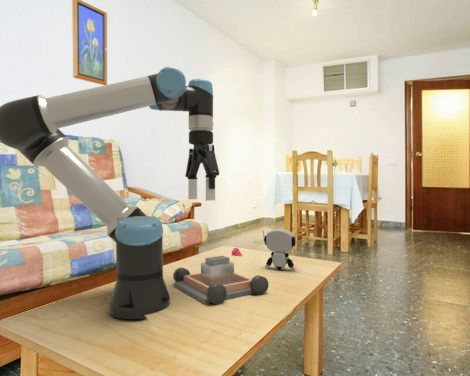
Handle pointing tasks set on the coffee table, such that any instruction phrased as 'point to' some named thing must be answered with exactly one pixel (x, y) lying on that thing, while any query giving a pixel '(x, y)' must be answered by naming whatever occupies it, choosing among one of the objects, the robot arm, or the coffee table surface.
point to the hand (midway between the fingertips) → (201, 199)
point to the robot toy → (280, 248)
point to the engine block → (217, 271)
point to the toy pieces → (236, 252)
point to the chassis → (218, 287)
